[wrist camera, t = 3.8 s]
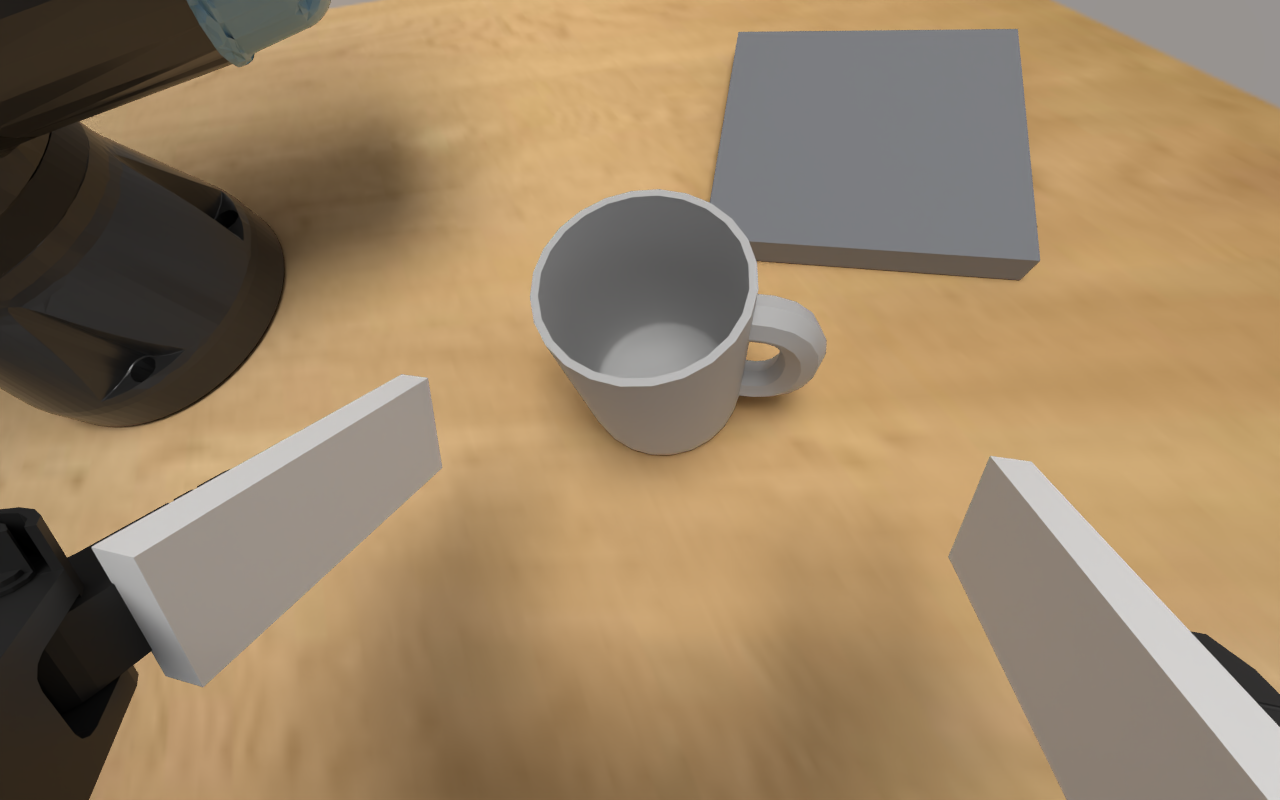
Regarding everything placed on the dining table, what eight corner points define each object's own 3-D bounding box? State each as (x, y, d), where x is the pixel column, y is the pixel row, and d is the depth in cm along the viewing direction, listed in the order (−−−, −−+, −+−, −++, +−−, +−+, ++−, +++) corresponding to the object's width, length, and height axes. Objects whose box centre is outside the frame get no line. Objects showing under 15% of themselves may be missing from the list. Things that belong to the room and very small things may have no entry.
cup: (607, 314, 25) (558, 185, 17) (805, 331, 24) (859, 197, 15) (577, 447, 23) (504, 373, 15) (795, 477, 21) (852, 413, 13)
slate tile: (704, 256, 26) (703, 238, 24) (737, 56, 30) (738, 32, 29) (1019, 280, 23) (1040, 260, 22) (1001, 56, 28) (1017, 29, 26)
